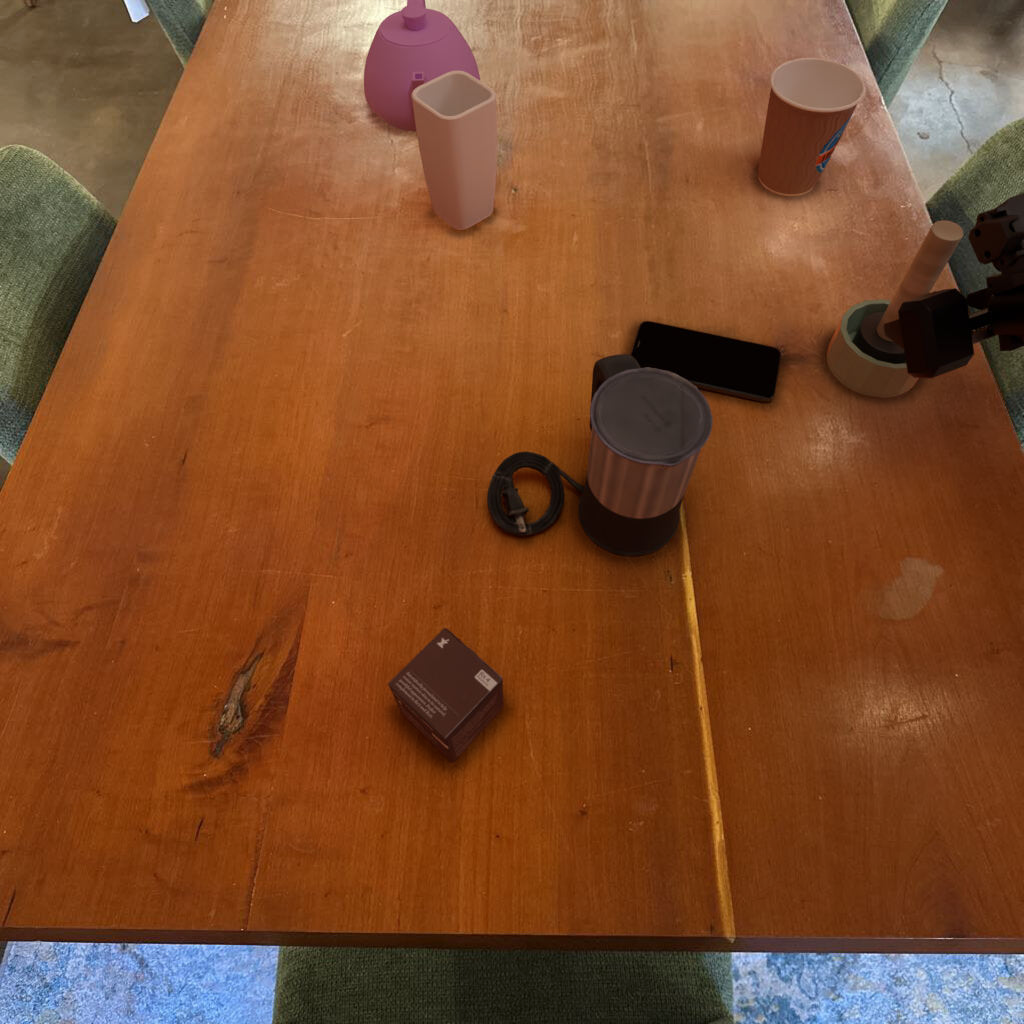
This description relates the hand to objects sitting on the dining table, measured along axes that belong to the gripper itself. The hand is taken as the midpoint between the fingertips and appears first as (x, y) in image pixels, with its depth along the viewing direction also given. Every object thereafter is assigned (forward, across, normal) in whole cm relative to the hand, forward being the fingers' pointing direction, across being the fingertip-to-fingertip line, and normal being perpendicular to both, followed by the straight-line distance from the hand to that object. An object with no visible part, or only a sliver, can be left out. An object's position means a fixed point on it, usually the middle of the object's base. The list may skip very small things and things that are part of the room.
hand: (927, 314), depth 70 cm
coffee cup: (+29, -9, -16) cm, 34 cm away
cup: (+36, +30, -23) cm, 52 cm away
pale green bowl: (+8, 0, +5) cm, 9 cm away
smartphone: (+13, +16, 0) cm, 21 cm away
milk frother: (+5, +35, +8) cm, 36 cm away
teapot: (+53, +27, -40) cm, 71 cm away
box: (-4, +52, +17) cm, 55 cm away
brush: (+8, 0, +4) cm, 9 cm away
